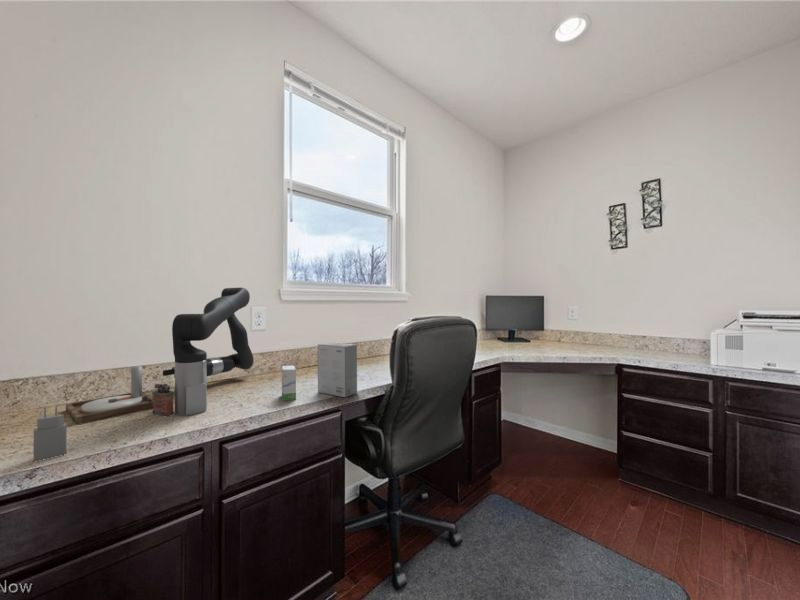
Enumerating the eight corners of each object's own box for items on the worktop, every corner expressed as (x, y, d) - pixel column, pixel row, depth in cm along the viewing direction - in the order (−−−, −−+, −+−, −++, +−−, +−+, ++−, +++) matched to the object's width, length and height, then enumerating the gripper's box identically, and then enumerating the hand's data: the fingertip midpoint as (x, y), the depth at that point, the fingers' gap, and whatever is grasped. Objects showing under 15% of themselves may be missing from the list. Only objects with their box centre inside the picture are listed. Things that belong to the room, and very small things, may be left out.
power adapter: (34, 457, 79) (34, 407, 79) (66, 450, 83) (66, 403, 83) (33, 462, 77) (33, 411, 77) (66, 454, 81) (66, 405, 81)
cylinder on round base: (149, 404, 117) (149, 369, 117) (86, 417, 104) (86, 377, 104) (136, 396, 127) (136, 363, 127) (77, 406, 114) (77, 371, 114)
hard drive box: (357, 393, 134) (357, 344, 134) (345, 398, 128) (345, 346, 128) (330, 388, 143) (330, 342, 143) (316, 392, 136) (316, 344, 136)
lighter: (176, 413, 110) (176, 383, 110) (166, 417, 107) (166, 386, 107) (159, 411, 113) (159, 382, 113) (149, 414, 109) (149, 384, 110)
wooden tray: (158, 407, 117) (158, 401, 117) (76, 424, 100) (76, 417, 100) (141, 396, 130) (141, 391, 130) (65, 410, 113) (65, 404, 113)
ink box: (296, 399, 126) (296, 368, 126) (282, 401, 124) (282, 369, 124) (294, 393, 134) (294, 364, 134) (281, 395, 132) (281, 365, 132)
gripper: (199, 357, 149) (159, 363, 134) (219, 360, 142) (178, 366, 128) (199, 374, 149) (159, 381, 134) (219, 377, 142) (178, 386, 127)
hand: (168, 374), depth 131 cm, fingers open, 8 cm apart
